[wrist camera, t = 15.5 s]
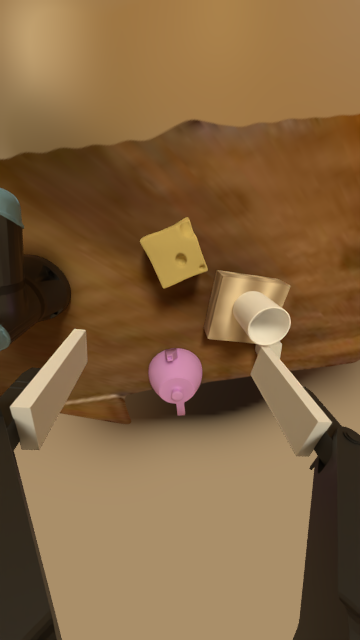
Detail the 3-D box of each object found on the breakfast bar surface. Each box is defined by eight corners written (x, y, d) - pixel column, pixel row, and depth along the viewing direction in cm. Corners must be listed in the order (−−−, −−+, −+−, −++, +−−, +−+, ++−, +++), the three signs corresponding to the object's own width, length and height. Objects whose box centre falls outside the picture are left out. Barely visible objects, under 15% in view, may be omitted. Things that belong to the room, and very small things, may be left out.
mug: (268, 330, 52) (290, 354, 42) (235, 338, 52) (251, 364, 43) (265, 285, 46) (291, 302, 37) (229, 295, 47) (245, 313, 37)
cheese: (186, 217, 45) (192, 216, 36) (202, 263, 49) (210, 273, 40) (143, 236, 46) (137, 240, 37) (162, 280, 50) (162, 293, 41)
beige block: (255, 350, 62) (262, 361, 57) (256, 336, 59) (263, 346, 55) (271, 348, 62) (279, 359, 57) (273, 334, 59) (282, 344, 55)
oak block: (203, 327, 57) (207, 338, 51) (216, 270, 50) (223, 276, 45) (257, 333, 59) (267, 344, 53) (277, 278, 52) (290, 285, 47)
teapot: (203, 388, 67) (211, 421, 56) (156, 396, 67) (155, 430, 56) (196, 330, 57) (203, 356, 46) (141, 339, 57) (135, 367, 46)
